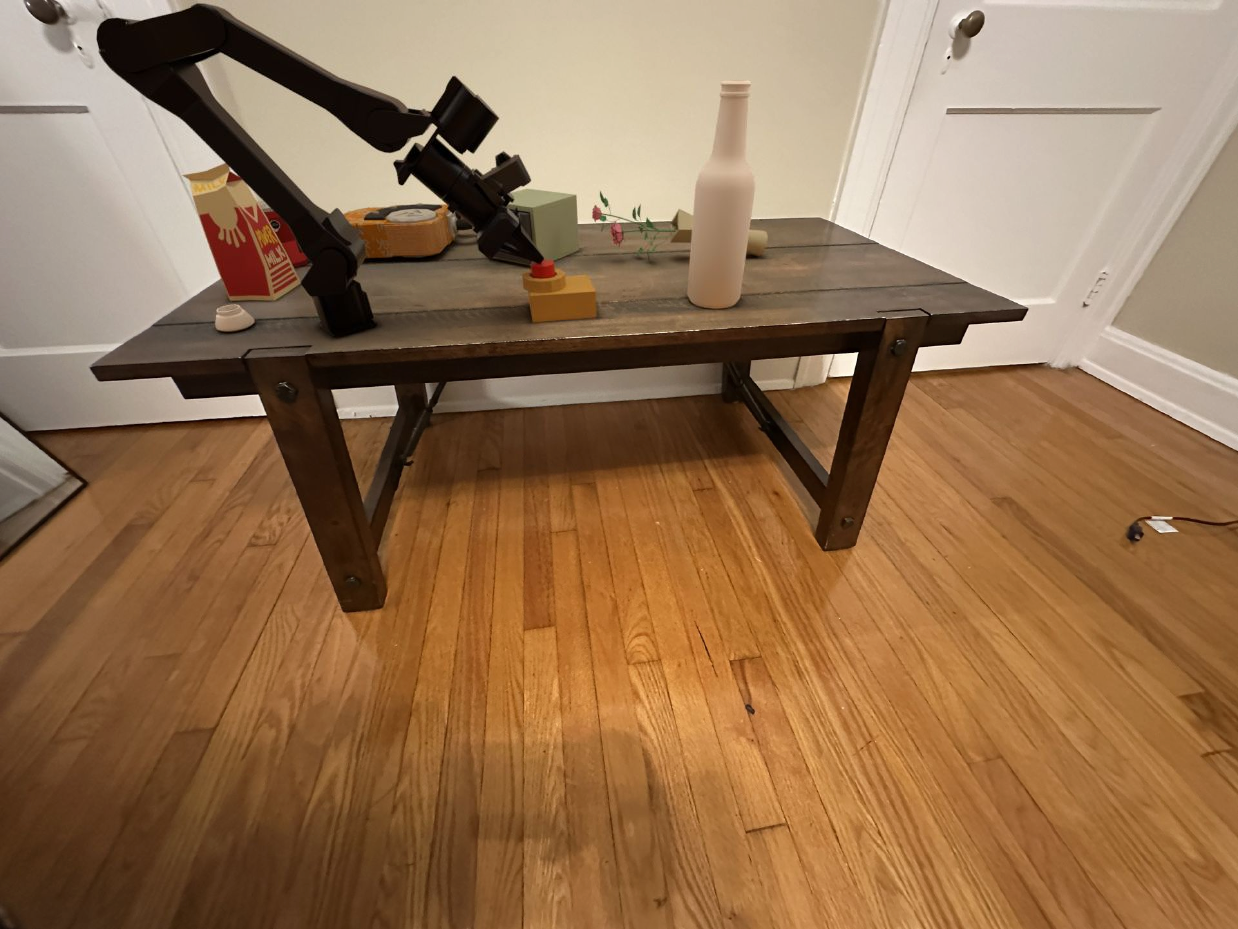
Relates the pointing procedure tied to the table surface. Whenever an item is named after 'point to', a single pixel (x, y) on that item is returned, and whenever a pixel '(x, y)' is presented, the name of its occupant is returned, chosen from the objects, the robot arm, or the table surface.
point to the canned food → (285, 236)
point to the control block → (560, 297)
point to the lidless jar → (232, 318)
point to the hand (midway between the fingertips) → (542, 260)
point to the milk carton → (241, 237)
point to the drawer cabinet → (549, 221)
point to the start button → (543, 269)
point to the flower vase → (674, 230)
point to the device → (406, 229)
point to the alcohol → (723, 207)
